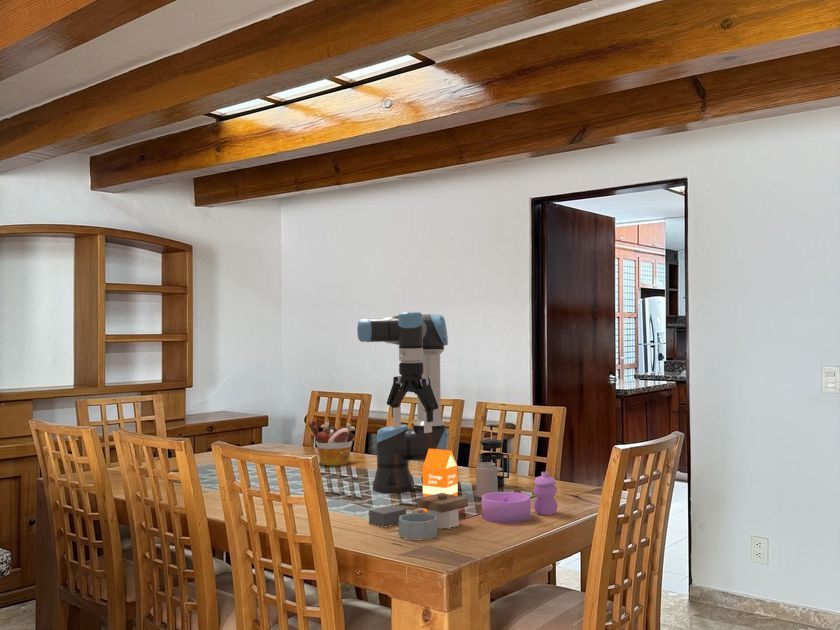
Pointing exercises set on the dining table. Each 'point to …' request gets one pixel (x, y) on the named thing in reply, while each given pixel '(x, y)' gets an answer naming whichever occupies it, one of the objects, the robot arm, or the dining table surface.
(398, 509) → the grey rectangular block
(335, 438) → the bucket of meat
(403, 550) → the dining table surface
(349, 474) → the dining table surface
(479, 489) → the can
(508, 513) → the container set
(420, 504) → the lid
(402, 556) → the dining table surface
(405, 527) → the grey bowl
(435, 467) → the orange juice
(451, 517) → the bowl
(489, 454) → the french press
